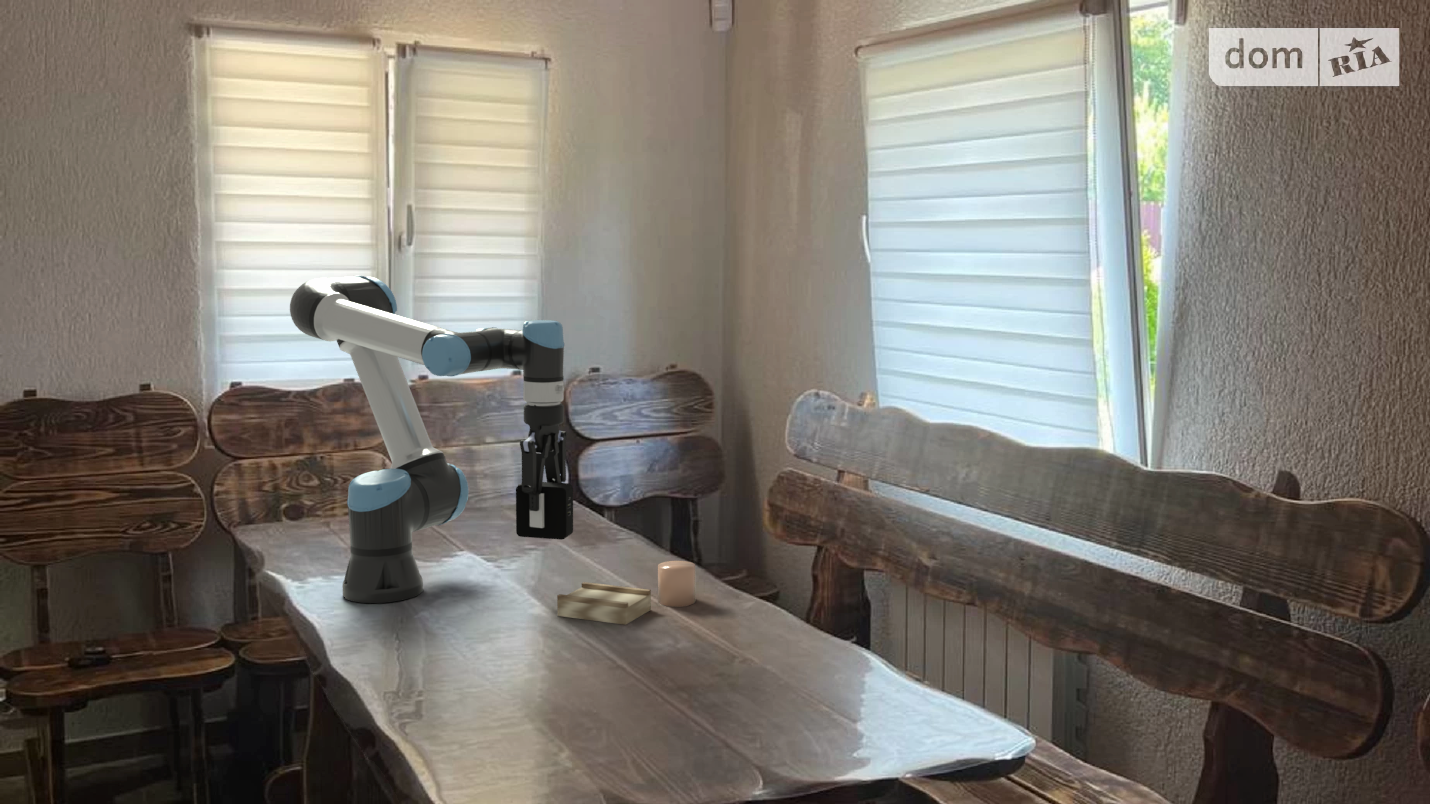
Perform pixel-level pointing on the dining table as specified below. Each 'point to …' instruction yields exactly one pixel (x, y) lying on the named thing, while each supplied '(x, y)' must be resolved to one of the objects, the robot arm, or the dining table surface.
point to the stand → (605, 603)
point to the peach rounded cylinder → (676, 583)
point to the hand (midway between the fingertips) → (544, 523)
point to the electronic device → (547, 512)
